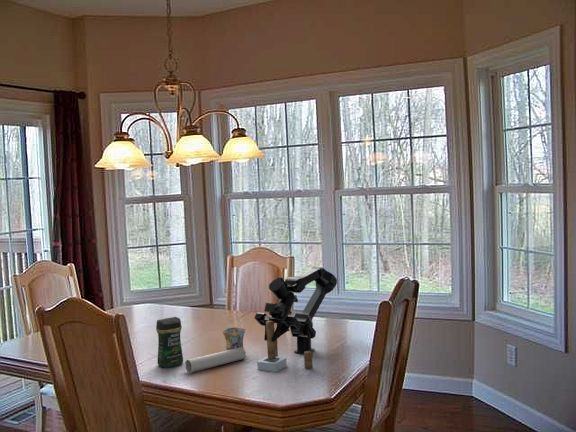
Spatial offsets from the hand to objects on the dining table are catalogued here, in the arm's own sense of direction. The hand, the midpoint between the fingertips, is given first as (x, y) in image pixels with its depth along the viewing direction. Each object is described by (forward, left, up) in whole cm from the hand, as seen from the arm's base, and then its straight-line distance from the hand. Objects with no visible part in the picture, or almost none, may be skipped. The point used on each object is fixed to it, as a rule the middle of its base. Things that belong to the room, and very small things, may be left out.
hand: (268, 340), depth 208 cm
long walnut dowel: (-1, 0, -7) cm, 7 cm away
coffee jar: (+12, -39, -11) cm, 42 cm away
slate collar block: (-1, 0, -11) cm, 11 cm away
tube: (+5, -21, -11) cm, 24 cm away
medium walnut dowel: (-9, -4, -11) cm, 15 cm away
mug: (-8, -23, -11) cm, 26 cm away
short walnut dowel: (-6, +13, -11) cm, 18 cm away
